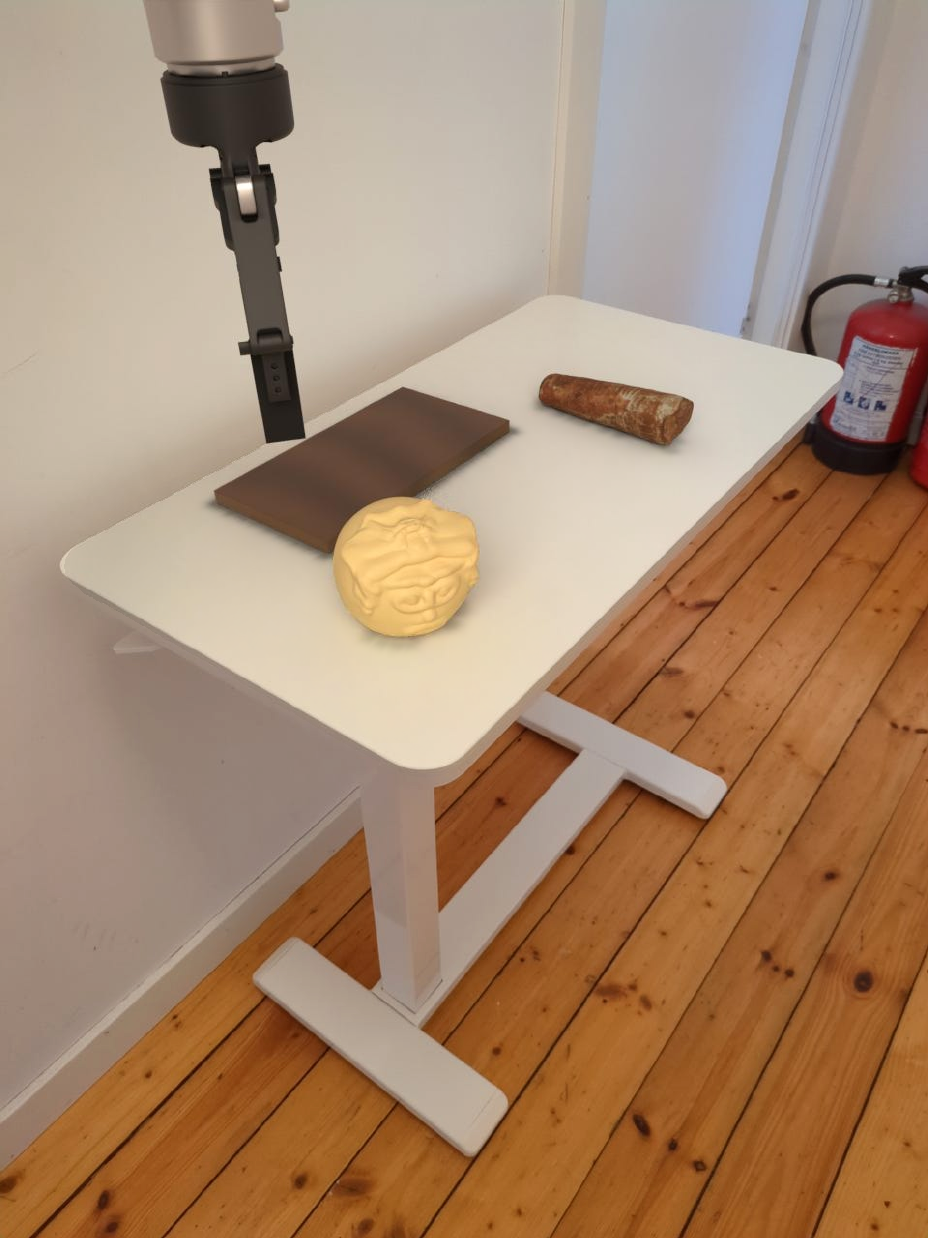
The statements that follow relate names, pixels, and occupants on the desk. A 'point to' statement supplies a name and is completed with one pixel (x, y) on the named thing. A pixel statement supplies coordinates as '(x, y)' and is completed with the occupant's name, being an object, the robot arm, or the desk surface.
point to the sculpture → (405, 565)
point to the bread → (619, 406)
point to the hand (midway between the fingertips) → (277, 397)
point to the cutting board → (361, 464)
